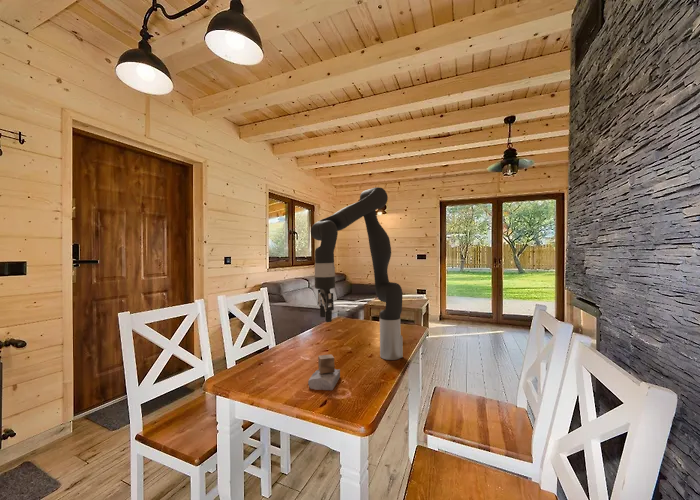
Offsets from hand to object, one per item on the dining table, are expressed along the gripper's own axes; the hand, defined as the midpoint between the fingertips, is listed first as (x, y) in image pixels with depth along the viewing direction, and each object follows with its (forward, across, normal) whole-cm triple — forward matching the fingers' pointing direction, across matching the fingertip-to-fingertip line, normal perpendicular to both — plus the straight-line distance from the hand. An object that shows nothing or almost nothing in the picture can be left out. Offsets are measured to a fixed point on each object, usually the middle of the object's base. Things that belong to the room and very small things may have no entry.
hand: (325, 319), depth 105 cm
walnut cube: (+18, -1, 0) cm, 19 cm away
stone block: (+23, -1, +1) cm, 23 cm away
